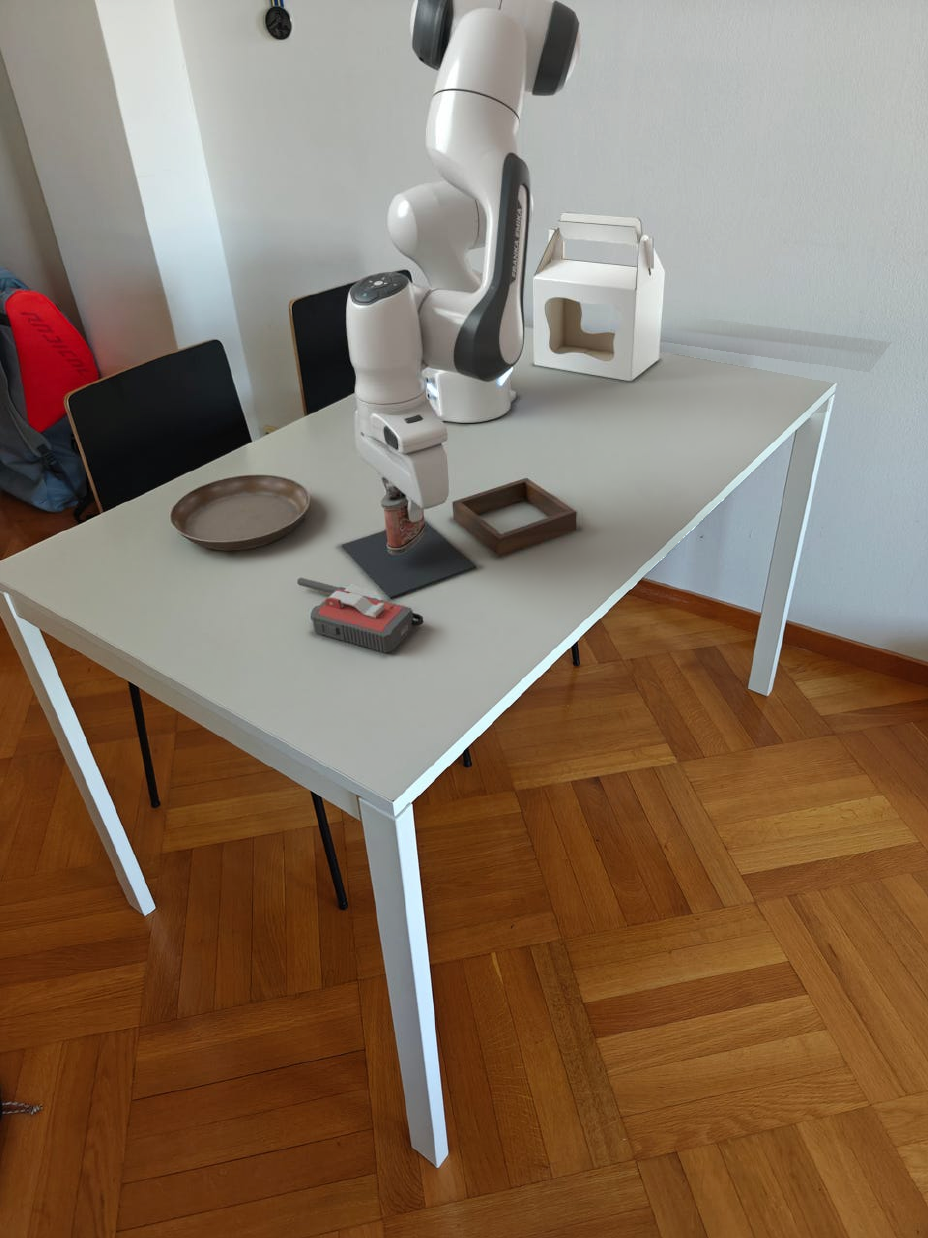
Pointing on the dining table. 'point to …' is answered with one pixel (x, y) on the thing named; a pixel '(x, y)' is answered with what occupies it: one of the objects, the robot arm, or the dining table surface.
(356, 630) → the walkie-talkie
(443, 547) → the mat
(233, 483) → the plant saucer
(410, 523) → the lighter
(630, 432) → the dining table surface
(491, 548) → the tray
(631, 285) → the gable box
